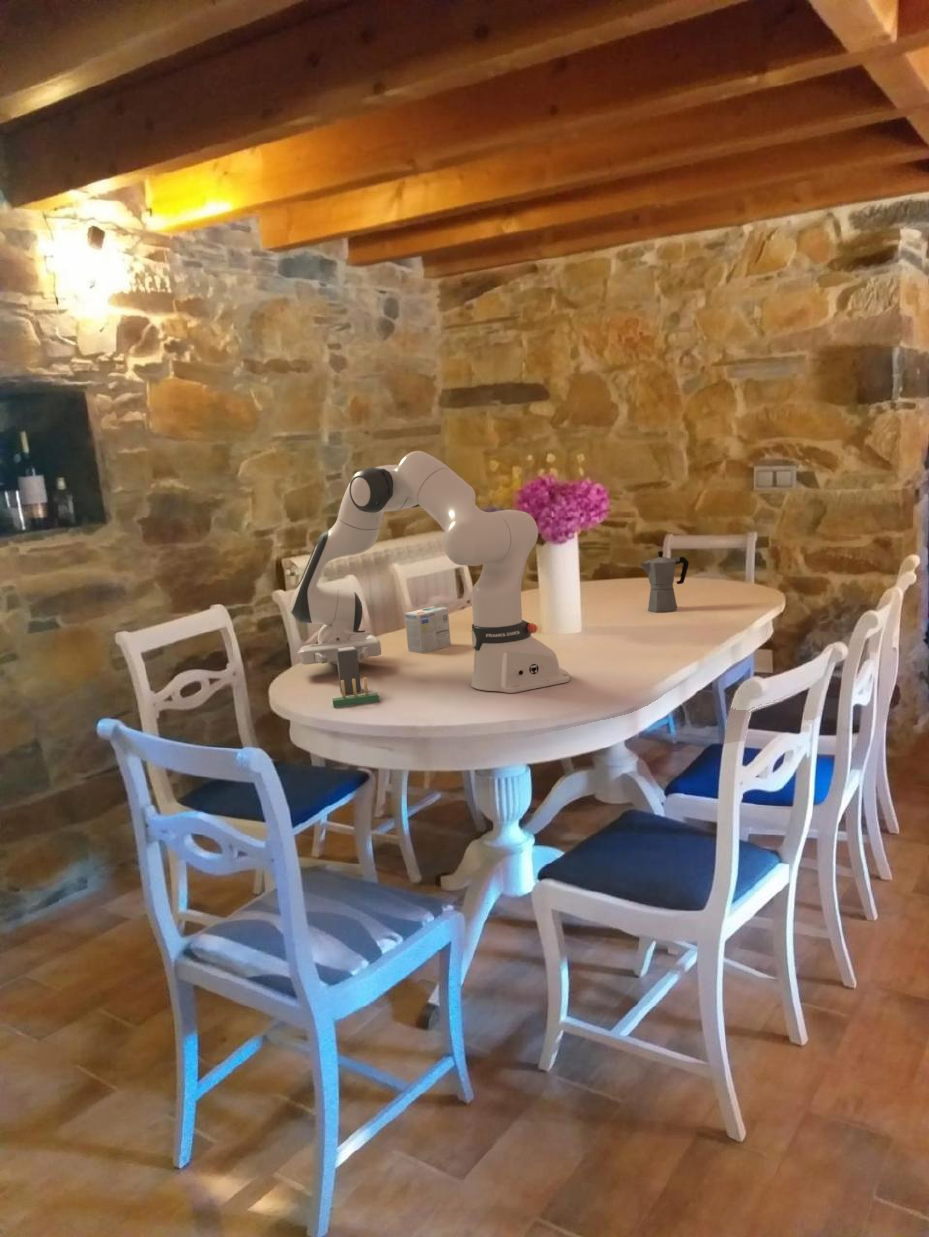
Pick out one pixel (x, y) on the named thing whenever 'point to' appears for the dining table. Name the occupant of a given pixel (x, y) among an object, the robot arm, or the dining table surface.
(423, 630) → the light bulb box
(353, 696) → the header strip
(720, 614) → the dining table surface
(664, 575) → the coffeepot
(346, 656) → the block
